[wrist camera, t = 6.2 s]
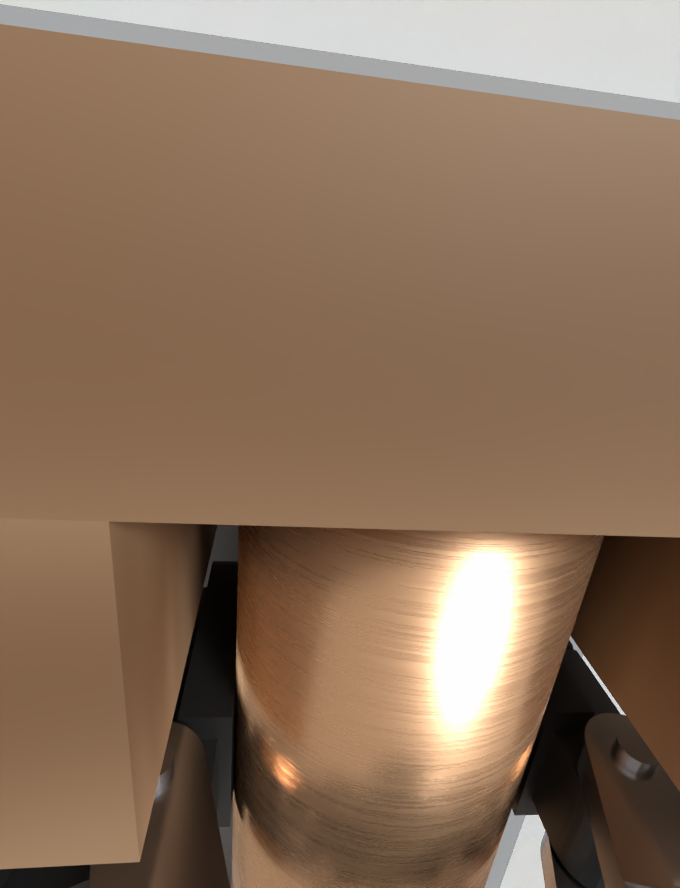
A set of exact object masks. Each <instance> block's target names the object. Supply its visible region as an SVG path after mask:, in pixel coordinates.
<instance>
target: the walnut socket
mask: <svg viewBox="0 0 680 888" xmlns="http://www.w3.org/2000/svg"><path fill="white" fill-rule="evenodd" d="M217 525H219V526H239V525H252V526H287V527H323V528H358V529H394V530H430V531H465V532H501V533H537V534H572V535H604V538H603V541H602V544H601V547H600V550H599V553H598V556H597V559H596V562H595V565H594V568H593V571H592V574H591V577H590V579H589V582H588V585H587V588H586V591H585V594H584V597H583V600H582V603H581V606H580V609H579V612H578V615H577V618H576V621H575V624H574V627H573V630H572V633H571V637H572V639H573V640H574V641H575V643H576V644H577V646H578V647H579V649H580V650H581V652H582V653H583V654H584V656H585V657H586V659H587V660H588V662H589V663H590V664H591V666H592V667H593V669H594V670H595V672H596V673H597V674H598V676H599V677H600V679H601V680H602V682H603V683H604V684H605V686H606V687H607V689H608V690H609V692H610V693H611V694H612V696H613V697H614V699H615V700H616V702H617V703H618V704H619V706H620V707H621V709H622V710H623V712H624V713H625V714H626V716H627V717H628V719H629V720H630V722H631V723H632V724H633V726H634V727H635V729H636V730H637V732H638V733H639V734H640V736H641V737H642V739H643V740H644V742H645V743H646V744H647V746H648V747H649V749H650V750H651V752H652V753H653V754H654V756H655V757H656V759H657V760H658V762H659V763H660V764H661V766H662V767H663V769H664V770H665V772H666V773H667V774H668V776H669V777H670V779H671V780H672V782H673V783H674V784H675V786H676V787H677V789H678V790H679V792H680V120H676V119H669V118H662V117H655V116H648V115H641V114H634V113H627V112H620V111H613V110H606V109H599V108H592V107H584V106H577V105H570V104H563V103H556V102H549V101H542V100H535V99H528V98H521V97H514V96H507V95H500V94H492V93H485V92H478V91H471V90H464V89H457V88H450V87H443V86H436V85H429V84H422V83H415V82H408V81H401V80H393V79H386V78H379V77H372V76H365V75H358V74H351V73H344V72H337V71H330V70H323V69H316V68H309V67H301V66H294V65H287V64H280V63H273V62H266V61H259V60H252V59H245V58H238V57H231V56H224V55H217V54H209V53H202V52H195V51H188V50H181V49H174V48H167V47H160V46H153V45H146V44H139V43H132V42H125V41H118V40H110V39H103V38H96V37H89V36H82V35H75V34H68V33H61V32H54V31H47V30H40V29H33V28H26V27H18V26H11V25H4V24H0V869H16V868H35V867H54V866H74V865H93V864H112V863H131V862H140V859H141V854H142V850H143V846H144V841H145V837H146V833H147V828H148V824H149V820H150V815H151V811H152V807H153V802H154V798H155V794H156V789H157V785H158V781H159V776H160V772H161V768H162V763H163V759H164V755H165V750H166V746H167V742H168V737H169V733H170V729H171V724H172V720H173V716H174V711H175V707H176V703H177V698H178V694H179V690H180V685H181V681H182V677H183V672H184V668H185V664H186V659H187V655H188V651H189V646H190V642H191V638H192V633H193V629H194V625H195V621H196V616H197V612H198V608H199V603H200V599H201V595H202V590H203V586H204V582H205V577H206V573H207V569H208V564H209V560H210V556H211V551H212V547H213V543H214V538H215V534H216V530H217Z"/></svg>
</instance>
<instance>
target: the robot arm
mask: <svg viewBox="0 0 680 888" xmlns="http://www.w3.org/2000/svg"><path fill="white" fill-rule="evenodd" d="M237 585H238V561H213V563H212V566H211V571H210V575H209V580H208V584H207V587H203V590H202V595H201V599H200V603H199V608H198V612H197V616H196V621H195V625H194V629H193V633H192V638H191V642H190V646H189V651H188V655H187V659H186V664H185V668H184V672H183V677H182V681H181V685H180V690H179V694H178V698H177V703H176V707H175V711H174V716H173V720H172V724H171V729H170V733H169V737H168V742H167V746H166V750H165V755H164V759H163V763H162V768H161V772H160V776H159V781H158V785H157V789H156V794H155V798H154V802H153V807H152V811H151V815H150V820H149V824H148V828H147V833H146V837H145V841H144V846H143V850H142V854H141V859H140V862H131V863H112V864H93V865H74V866H54V867H35V868H16V869H0V888H230V884H229V879H228V873H227V868H226V863H225V857H224V852H223V847H222V841H221V836H220V830H219V827H230V823H231V812H232V802H233V791H234V755H235V708H236V634H237ZM512 810H513V813H514V815H515V816H516V815H539V816H540V819H541V821H542V823H543V826H544V828H545V830H546V831H545V834H544V836H543V839H542V842H541V860H542V867H543V874H544V881H545V888H680V792H679V790H678V789H677V787H676V786H675V784H674V783H673V782H672V780H671V779H670V777H669V776H668V774H667V773H666V772H665V770H664V769H663V767H662V766H661V764H660V763H659V762H658V760H657V759H656V757H655V756H654V754H653V753H652V752H651V750H650V749H649V747H648V746H647V744H646V743H645V742H644V740H643V739H642V737H641V736H640V734H639V733H638V732H637V730H636V729H635V727H634V726H633V724H632V723H631V722H630V720H629V719H628V717H627V716H625V715H621V714H620V713H619V711H618V710H617V708H616V707H615V705H614V704H613V703H612V701H611V700H610V698H609V697H608V695H607V694H606V692H605V691H604V690H603V688H602V687H601V685H600V684H599V682H598V681H597V679H596V678H595V676H594V675H593V674H592V672H591V671H590V669H589V668H588V666H587V665H586V663H585V662H584V661H583V659H582V658H581V656H580V655H579V653H578V652H577V650H574V649H573V645H572V643H571V642H570V640H569V641H568V644H567V647H566V650H565V653H564V656H563V659H562V662H561V665H560V668H559V671H558V674H557V677H556V680H555V683H554V686H553V689H552V692H551V694H550V697H549V700H548V703H547V706H546V709H545V712H544V715H543V718H542V721H541V724H540V727H539V730H538V733H537V736H536V739H535V742H534V745H533V748H532V750H531V753H530V756H529V759H528V762H527V765H526V768H525V771H524V774H523V777H522V780H521V783H520V786H519V789H518V792H517V795H516V798H515V801H514V804H513V806H512Z"/></svg>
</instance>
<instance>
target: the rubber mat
mask: <svg viewBox="0 0 680 888" xmlns="http://www.w3.org/2000/svg"><path fill="white" fill-rule="evenodd" d="M0 24H4V25H11V26H18V27H26V28H33V29H40V30H47V31H54V32H61V33H68V34H75V35H82V36H89V37H96V38H103V39H110V40H118V41H125V42H132V43H139V44H146V45H153V46H160V47H167V48H174V49H181V50H188V51H195V52H202V53H209V54H217V55H224V56H231V57H238V58H245V59H252V60H259V61H266V62H273V63H280V64H287V65H294V66H301V67H309V68H316V69H323V70H330V71H337V72H344V73H351V74H358V75H365V76H372V77H379V78H386V79H393V80H401V81H408V82H415V83H422V84H429V85H436V86H443V87H450V88H457V89H464V90H471V91H478V92H485V93H492V94H500V95H507V96H514V97H521V98H528V99H535V100H542V101H549V102H556V103H563V104H570V105H577V106H584V107H592V108H599V109H606V110H613V111H620V112H627V113H634V114H641V115H648V116H655V117H662V118H669V119H676V120H680V103H674V102H667V101H661V100H654V99H647V98H640V97H633V96H626V95H619V94H613V93H606V92H599V91H592V90H585V89H578V88H571V87H565V86H558V85H551V84H544V83H537V82H530V81H523V80H517V79H510V78H503V77H496V76H489V75H482V74H475V73H469V72H462V71H455V70H448V69H441V68H434V67H427V66H421V65H414V64H407V63H400V62H393V61H386V60H379V59H373V58H366V57H359V56H352V55H345V54H338V53H331V52H325V51H318V50H311V49H304V48H297V47H290V46H283V45H277V44H270V43H263V42H256V41H249V40H242V39H235V38H229V37H222V36H215V35H208V34H201V33H194V32H187V31H181V30H174V29H167V28H160V27H153V26H146V25H139V24H133V23H126V22H119V21H112V20H105V19H98V18H92V17H85V16H78V15H71V14H64V13H57V12H50V11H44V10H37V9H30V8H23V7H16V6H9V5H2V4H0ZM238 537H239V526H219V525H217V530H216V534H215V538H214V543H213V547H212V551H211V556H210V560H209V564H208V569H207V573H206V577H205V582H204V586H203V587H207V584H208V580H209V575H210V571H211V566H212V563H213V561H238ZM569 640H570V642H571V643H572V645H573V649H574V650H577V652H578V653H579V655H580V656H581V658H582V656H583V653H582V652H581V650H580V649H579V647H578V646H577V644H576V643H575V641H574V640H573V639H572V637H571V636H570V638H569ZM524 818H525V815H516V816H515V815H514V813H513V810H512V809H511V812H510V815H509V818H508V821H507V824H506V827H505V830H504V833H503V836H502V839H501V842H500V845H499V848H498V851H497V854H496V857H495V860H494V862H493V865H492V868H491V871H490V874H489V877H488V880H487V883H486V886H485V888H500V885H501V882H502V880H503V877H504V874H505V871H506V868H507V866H508V863H509V860H510V857H511V854H512V852H513V849H514V846H515V843H516V840H517V838H518V835H519V832H520V829H521V826H522V824H523V821H524ZM232 827H233V802H232V812H231V823H230V827H219V830H220V836H221V841H222V847H223V852H224V857H225V863H226V868H227V873H228V879H229V884H230V885H231V875H232Z"/></svg>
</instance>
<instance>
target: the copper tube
mask: <svg viewBox="0 0 680 888" xmlns="http://www.w3.org/2000/svg"><path fill="white" fill-rule="evenodd" d="M603 538H604V535H572V534H537V533H501V532H465V531H430V530H394V529H358V528H323V527H287V526H252V525H239V537H238V585H237V634H236V708H235V755H234V791H233V827H232V875H231V888H485V886H486V883H487V880H488V877H489V874H490V871H491V868H492V865H493V862H494V860H495V857H496V854H497V851H498V848H499V845H500V842H501V839H502V836H503V833H504V830H505V827H506V824H507V821H508V818H509V815H510V812H511V809H512V806H513V804H514V801H515V798H516V795H517V792H518V789H519V786H520V783H521V780H522V777H523V774H524V771H525V768H526V765H527V762H528V759H529V756H530V753H531V750H532V748H533V745H534V742H535V739H536V736H537V733H538V730H539V727H540V724H541V721H542V718H543V715H544V712H545V709H546V706H547V703H548V700H549V697H550V694H551V692H552V689H553V686H554V683H555V680H556V677H557V674H558V671H559V668H560V665H561V662H562V659H563V656H564V653H565V650H566V647H567V644H568V641H569V638H570V636H571V633H572V630H573V627H574V624H575V621H576V618H577V615H578V612H579V609H580V606H581V603H582V600H583V597H584V594H585V591H586V588H587V585H588V582H589V579H590V577H591V574H592V571H593V568H594V565H595V562H596V559H597V556H598V553H599V550H600V547H601V544H602V541H603Z"/></svg>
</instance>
